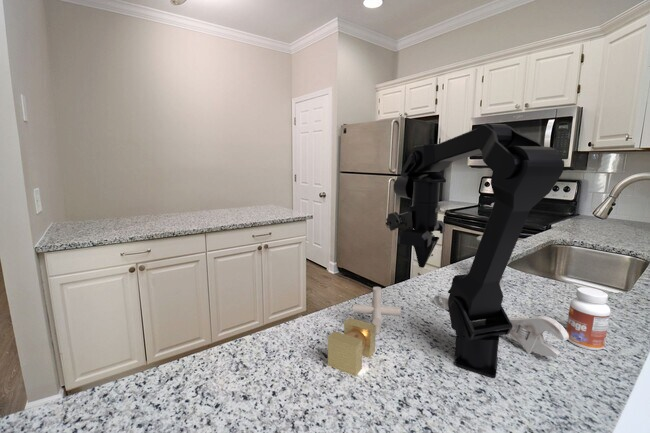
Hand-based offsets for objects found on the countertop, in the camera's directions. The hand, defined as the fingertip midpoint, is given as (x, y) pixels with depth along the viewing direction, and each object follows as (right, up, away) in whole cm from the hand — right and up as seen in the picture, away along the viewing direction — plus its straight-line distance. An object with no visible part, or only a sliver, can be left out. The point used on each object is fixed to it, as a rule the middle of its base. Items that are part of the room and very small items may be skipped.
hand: (421, 267), depth 72 cm
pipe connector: (-12, -13, -6) cm, 19 cm away
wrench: (+13, -13, -5) cm, 19 cm away
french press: (+29, -9, +23) cm, 38 cm away
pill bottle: (+30, -14, -10) cm, 35 cm away
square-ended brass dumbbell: (-18, -15, -15) cm, 28 cm away
